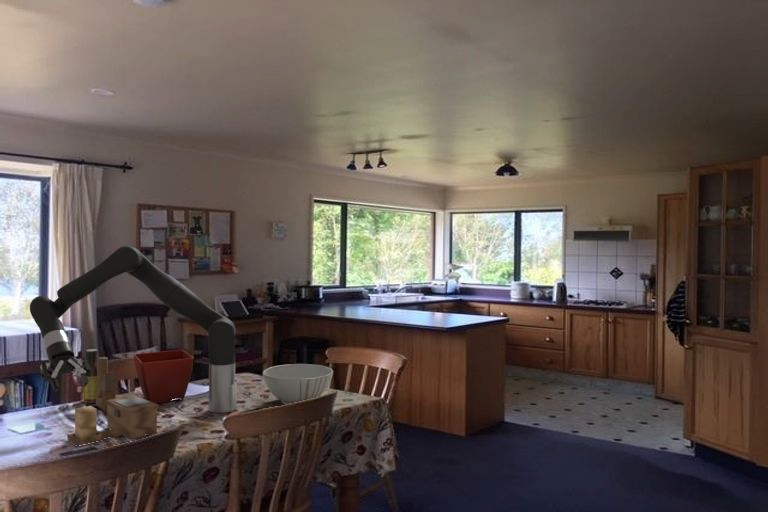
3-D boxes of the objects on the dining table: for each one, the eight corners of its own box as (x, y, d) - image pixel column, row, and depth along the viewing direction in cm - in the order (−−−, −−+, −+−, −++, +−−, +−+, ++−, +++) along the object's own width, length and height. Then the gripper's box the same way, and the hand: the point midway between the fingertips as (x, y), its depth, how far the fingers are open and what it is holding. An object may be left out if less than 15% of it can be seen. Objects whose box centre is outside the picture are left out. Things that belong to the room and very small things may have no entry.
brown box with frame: (134, 421, 209) (134, 394, 209) (158, 432, 198) (158, 403, 197) (62, 437, 192) (61, 407, 191) (83, 450, 180) (83, 418, 180)
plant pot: (141, 407, 226) (141, 362, 225) (133, 396, 242) (133, 353, 242) (194, 401, 236) (194, 357, 235) (182, 390, 252) (183, 349, 251)
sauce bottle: (86, 399, 236) (86, 348, 236) (103, 399, 237) (103, 348, 236) (79, 404, 230) (79, 351, 229) (97, 403, 230) (97, 351, 230)
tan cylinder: (90, 437, 192) (90, 405, 192) (96, 440, 189) (96, 408, 189) (75, 441, 189) (74, 408, 189) (81, 444, 186) (80, 411, 185)
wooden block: (105, 412, 220) (105, 362, 219) (95, 405, 228) (95, 357, 227) (115, 410, 222) (115, 360, 222) (105, 403, 230) (105, 356, 230)
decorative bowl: (322, 414, 221) (322, 380, 220) (251, 409, 225) (251, 377, 225) (340, 395, 247) (340, 365, 247) (276, 391, 251) (276, 362, 251)
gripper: (37, 342, 196) (50, 384, 189) (83, 337, 207) (98, 377, 199) (31, 356, 200) (44, 398, 193) (77, 351, 211) (91, 390, 203)
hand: (71, 387), depth 196 cm, fingers open, 8 cm apart
